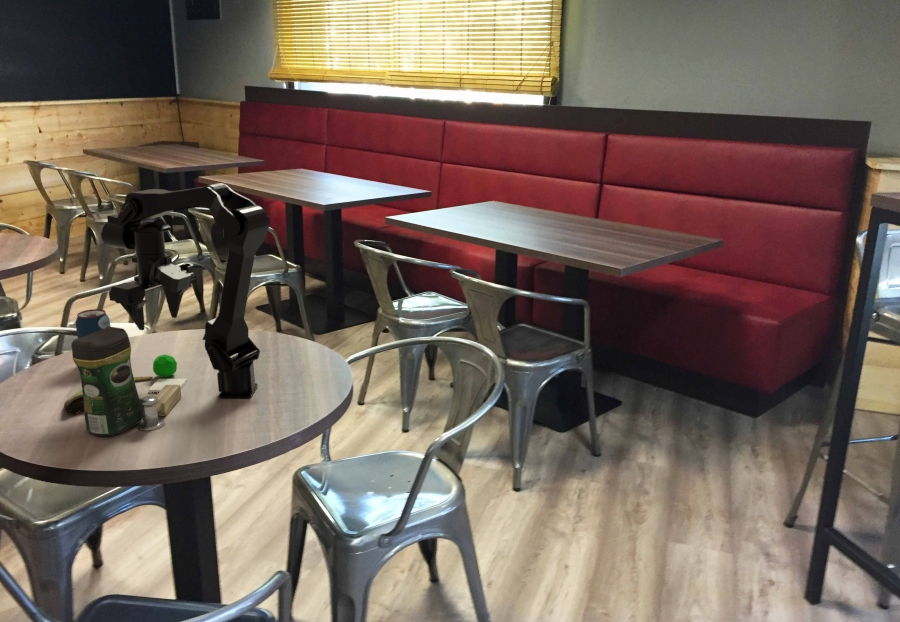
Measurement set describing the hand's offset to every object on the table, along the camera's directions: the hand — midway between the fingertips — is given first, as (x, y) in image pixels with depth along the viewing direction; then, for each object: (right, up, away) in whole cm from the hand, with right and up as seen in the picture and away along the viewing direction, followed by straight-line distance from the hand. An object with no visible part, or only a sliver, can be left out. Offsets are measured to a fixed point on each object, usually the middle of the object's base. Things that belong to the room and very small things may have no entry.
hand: (158, 323), depth 157 cm
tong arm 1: (+5, -16, -12) cm, 21 cm away
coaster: (+3, -13, -2) cm, 14 cm away
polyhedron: (0, -12, +4) cm, 13 cm away
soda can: (-18, -9, +12) cm, 23 cm away
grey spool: (+6, -19, -19) cm, 27 cm away
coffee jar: (0, -19, -19) cm, 27 cm away
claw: (-8, -15, -5) cm, 18 cm away
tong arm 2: (+7, -16, -12) cm, 21 cm away
